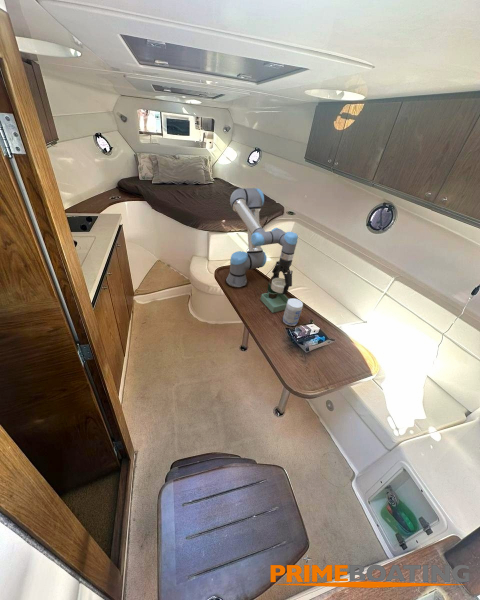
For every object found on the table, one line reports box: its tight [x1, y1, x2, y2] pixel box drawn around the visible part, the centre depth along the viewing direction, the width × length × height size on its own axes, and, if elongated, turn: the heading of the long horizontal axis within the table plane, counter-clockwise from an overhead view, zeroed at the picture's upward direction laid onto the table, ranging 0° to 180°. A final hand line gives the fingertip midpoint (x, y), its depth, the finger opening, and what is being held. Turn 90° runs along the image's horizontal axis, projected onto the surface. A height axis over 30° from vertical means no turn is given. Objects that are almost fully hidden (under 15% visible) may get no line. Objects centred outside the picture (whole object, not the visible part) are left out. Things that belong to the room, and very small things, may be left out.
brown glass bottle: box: [266, 266, 280, 299], centre depth 169 cm, size 8×8×24 cm
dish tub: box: [259, 292, 290, 314], centre depth 168 cm, size 15×15×5 cm
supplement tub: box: [282, 297, 304, 327], centre depth 152 cm, size 10×10×15 cm
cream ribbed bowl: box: [271, 277, 289, 293], centre depth 161 cm, size 11×11×5 cm
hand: (279, 288), depth 162 cm, fingers closed on cream ribbed bowl, 11 cm apart
